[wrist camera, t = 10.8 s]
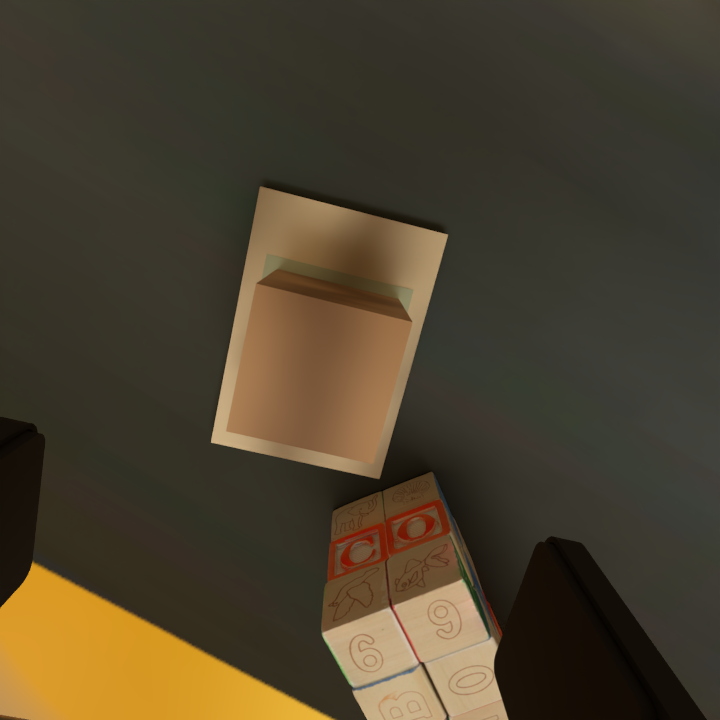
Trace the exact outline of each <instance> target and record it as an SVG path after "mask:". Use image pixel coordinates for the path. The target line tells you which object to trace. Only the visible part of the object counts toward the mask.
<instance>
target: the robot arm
mask: <svg viewBox="0 0 720 720" xmlns="http://www.w3.org/2000/svg"><path fill="white" fill-rule="evenodd" d="M44 448H45V438H44V435H43V434H39V433H37V428H36V426H35V425H34V424H32V423H27V422H22V421H18V420H13V419H8V418H4V417H0V607H1V606H2V605H3V604H4V603H5V602H6V601H7V600H8V599H9V598H10V596H11V595H12V594H13V593H14V592H15V591H16V590H17V589H18V588H19V587H20V585H21V584H22V583H23V582H24V580H25V578H26V577H27V575H28V573H29V571H30V568H31V564H32V559H33V550H34V540H35V531H36V522H37V513H38V504H39V494H40V485H41V476H42V467H43V458H44ZM494 674H495V678H496V682H497V685H498V688H499V691H500V695H501V698H502V701H503V704H504V708H505V711H506V714H507V717H508V720H707V719H706V718H705V716H704V715H703V714H702V712H701V711H700V709H699V708H698V707H697V705H696V704H695V702H694V701H693V699H692V698H691V697H690V695H689V694H688V692H687V691H686V690H685V688H684V687H683V685H682V684H681V682H680V681H679V680H678V678H677V677H676V675H675V674H674V673H673V671H672V670H671V668H670V667H669V665H668V664H667V663H666V661H665V660H664V658H663V657H662V656H661V654H660V653H659V651H658V650H657V648H656V647H655V646H654V644H653V643H652V641H651V640H650V639H649V637H648V636H647V634H646V633H645V632H644V630H643V629H642V627H641V626H640V624H639V623H638V622H637V620H636V619H635V617H634V616H633V615H632V613H631V612H630V610H629V609H628V607H627V606H626V605H625V603H624V602H623V600H622V599H621V598H620V596H619V595H618V593H617V592H616V590H615V589H614V588H613V586H612V585H611V583H610V582H609V581H608V579H607V578H606V576H605V575H604V573H603V572H602V571H601V569H600V568H599V566H598V565H597V564H596V562H595V561H594V559H593V558H592V556H591V555H590V554H589V552H588V551H587V549H586V548H585V547H584V545H583V544H582V543H579V542H575V541H570V540H566V539H561V538H557V537H552V536H551V537H549V538H548V539H547V540H546V541H545V543H544V542H539V543H538V544H537V545H536V547H535V549H534V551H533V554H532V557H531V559H530V562H529V565H528V567H527V570H526V573H525V575H524V578H523V581H522V583H521V586H520V589H519V592H518V594H517V597H516V600H515V602H514V605H513V608H512V610H511V613H510V616H509V618H508V621H507V624H506V627H505V629H504V632H503V635H502V637H501V640H500V643H499V645H498V648H497V651H496V654H495V658H494ZM0 720H27V719H21V718H16V717H9V716H4V715H0Z"/></svg>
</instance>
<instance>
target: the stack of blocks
mask: <svg viewBox="0 0 720 720" xmlns="http://www.w3.org/2000/svg"><path fill="white" fill-rule="evenodd" d="M322 636H323V639H324V641H325V642H326V644H327V646H328V647H329V649H330V651H331V653H332V655H333V656H334V658H335V660H336V661H337V663H338V665H339V667H340V669H341V671H342V673H343V674H344V676H345V678H346V679H347V681H348V683H349V684H350V685H351V686H352V692H353V694H354V696H355V698H356V700H357V702H358V703H359V705H360V707H361V709H362V711H363V713H364V714H365V716H366V718H367V720H508V717H507V714H506V711H505V708H504V704H503V701H502V698H501V695H500V691H499V688H498V685H497V682H496V678H495V674H494V658H495V654H496V651H497V648H498V645H499V643H500V640H501V637H502V632H501V630H500V627H499V625H498V623H497V620H496V618H495V616H494V614H493V611H492V609H491V606H490V604H489V602H488V601H487V600H486V598H485V595H484V593H483V590H482V588H481V585H480V582H479V579H478V576H477V573H476V570H475V567H474V564H473V562H472V559H471V556H470V554H469V552H468V549H467V547H466V545H465V542H464V540H463V538H462V535H461V533H460V531H459V528H458V526H457V523H456V521H455V519H454V518H453V516H452V514H451V512H450V510H449V507H448V505H447V503H446V500H445V498H444V496H443V493H442V491H441V489H440V486H439V484H438V482H437V480H436V477H435V475H434V473H433V472H429V473H427V474H424V475H422V476H419V477H416V478H414V479H411V480H409V481H406V482H404V483H401V484H399V485H396V486H394V487H391V488H389V489H386V490H384V491H382V492H377V493H374V494H372V495H369V496H367V497H364V498H362V499H359V500H357V501H355V502H352V503H349V504H347V505H345V506H343V507H340V508H338V509H336V510H334V511H333V515H332V525H331V543H330V545H329V562H328V583H327V584H326V585H325V588H324V600H323V614H322Z"/></svg>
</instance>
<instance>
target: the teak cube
mask: <svg viewBox="0 0 720 720" xmlns="http://www.w3.org/2000/svg"><path fill="white" fill-rule="evenodd" d="M412 323H413V322H412V320H411V318H410V317H409V315H408V313H407V312H406V310H405V308H404V307H403V305H402V303H401V302H400V300H399V299H397V298H393V297H389V296H385V295H381V294H377V293H373V292H369V291H365V290H361V289H357V288H353V287H349V286H345V285H341V284H337V283H333V282H329V281H325V280H321V279H317V278H312V277H308V276H304V275H300V274H296V273H292V272H288V271H284V270H280V269H276V270H275V271H273V272H272V273H270V274H269V275H268V276H266V277H265V278H263V279H262V280H260V281H259V282H257V283H256V286H255V291H254V296H253V301H252V306H251V311H250V316H249V321H248V325H247V330H246V335H245V340H244V345H243V350H242V355H241V360H240V365H239V370H238V375H237V380H236V385H235V390H234V394H233V399H232V404H231V409H230V414H229V419H228V424H227V429H226V431H227V432H231V433H236V434H240V435H245V436H249V437H254V438H258V439H263V440H267V441H271V442H276V443H280V444H285V445H289V446H294V447H298V448H303V449H307V450H312V451H316V452H321V453H325V454H330V455H334V456H338V457H343V458H347V459H352V460H356V461H361V462H365V463H370V464H373V463H374V459H375V455H376V452H377V448H378V445H379V441H380V438H381V434H382V430H383V427H384V423H385V420H386V416H387V413H388V409H389V405H390V402H391V398H392V395H393V391H394V388H395V384H396V380H397V377H398V373H399V370H400V366H401V363H402V359H403V355H404V352H405V348H406V345H407V341H408V338H409V334H410V330H411V327H412Z"/></svg>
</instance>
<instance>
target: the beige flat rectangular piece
mask: <svg viewBox="0 0 720 720" xmlns="http://www.w3.org/2000/svg"><path fill="white" fill-rule="evenodd" d="M447 237H448V235H447V234H443V233H440V232H436V231H432V230H428V229H424V228H420V227H416V226H412V225H408V224H405V223H401V222H397V221H393V220H389V219H385V218H381V217H377V216H373V215H370V214H366V213H362V212H358V211H354V210H350V209H346V208H342V207H338V206H335V205H331V204H327V203H323V202H319V201H315V200H311V199H307V198H303V197H300V196H296V195H292V194H288V193H284V192H280V191H276V190H272V189H268V188H265V187H261V186H260V190H259V195H258V200H257V205H256V210H255V216H254V221H253V226H252V231H251V236H250V242H249V247H248V252H247V257H246V262H245V268H244V273H243V278H242V283H241V288H240V294H239V299H238V304H237V309H236V315H235V320H234V325H233V330H232V335H231V341H230V346H229V351H228V356H227V361H226V367H225V372H224V377H223V382H222V387H221V393H220V398H219V403H218V408H217V413H216V419H215V424H214V429H213V434H212V439H211V442H212V443H216V444H221V445H225V446H230V447H234V448H239V449H244V450H248V451H253V452H257V453H262V454H267V455H271V456H276V457H280V458H285V459H289V460H294V461H299V462H303V463H308V464H312V465H317V466H321V467H326V468H331V469H335V470H340V471H344V472H349V473H354V474H358V475H363V476H367V477H372V478H376V479H380V475H381V472H382V468H383V465H384V461H385V458H386V454H387V450H388V447H389V443H390V440H391V436H392V433H393V429H394V426H395V422H396V418H397V415H398V411H399V408H400V404H401V401H402V397H403V394H404V390H405V386H406V383H407V379H408V376H409V372H410V369H411V365H412V362H413V358H414V354H415V351H416V347H417V344H418V340H419V337H420V333H421V330H422V326H423V322H424V319H425V315H426V312H427V308H428V305H429V301H430V298H431V294H432V290H433V287H434V283H435V280H436V276H437V273H438V269H439V266H440V262H441V258H442V255H443V251H444V248H445V244H446V241H447ZM276 269H280V270H284V271H288V272H292V273H296V274H300V275H304V276H308V277H312V278H317V279H321V280H325V281H329V282H333V283H337V284H341V285H345V286H349V287H353V288H357V289H361V290H365V291H369V292H373V293H377V294H381V295H385V296H389V297H393V298H397V299H399V300H400V302H401V303H402V305H403V307H404V308H405V310H406V312H407V313H408V315H409V317H410V318H411V320H412V322H413V323H412V327H411V330H410V334H409V338H408V341H407V345H406V348H405V352H404V355H403V359H402V363H401V366H400V370H399V373H398V377H397V380H396V384H395V388H394V391H393V395H392V398H391V402H390V405H389V409H388V413H387V416H386V420H385V423H384V427H383V430H382V434H381V438H380V441H379V445H378V448H377V452H376V455H375V459H374V463H373V464H370V463H365V462H361V461H356V460H352V459H347V458H343V457H338V456H334V455H330V454H325V453H321V452H316V451H312V450H307V449H303V448H298V447H294V446H289V445H285V444H280V443H276V442H271V441H267V440H263V439H258V438H254V437H249V436H245V435H240V434H236V433H231V432H227V431H226V429H227V424H228V419H229V414H230V409H231V404H232V399H233V394H234V390H235V385H236V380H237V375H238V370H239V365H240V360H241V355H242V350H243V345H244V340H245V335H246V330H247V325H248V321H249V316H250V311H251V306H252V301H253V296H254V291H255V286H256V283H257V282H259V281H260V280H262V279H263V278H265V277H266V276H268V275H269V274H270V273H272V272H273V271H275V270H276Z"/></svg>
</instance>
